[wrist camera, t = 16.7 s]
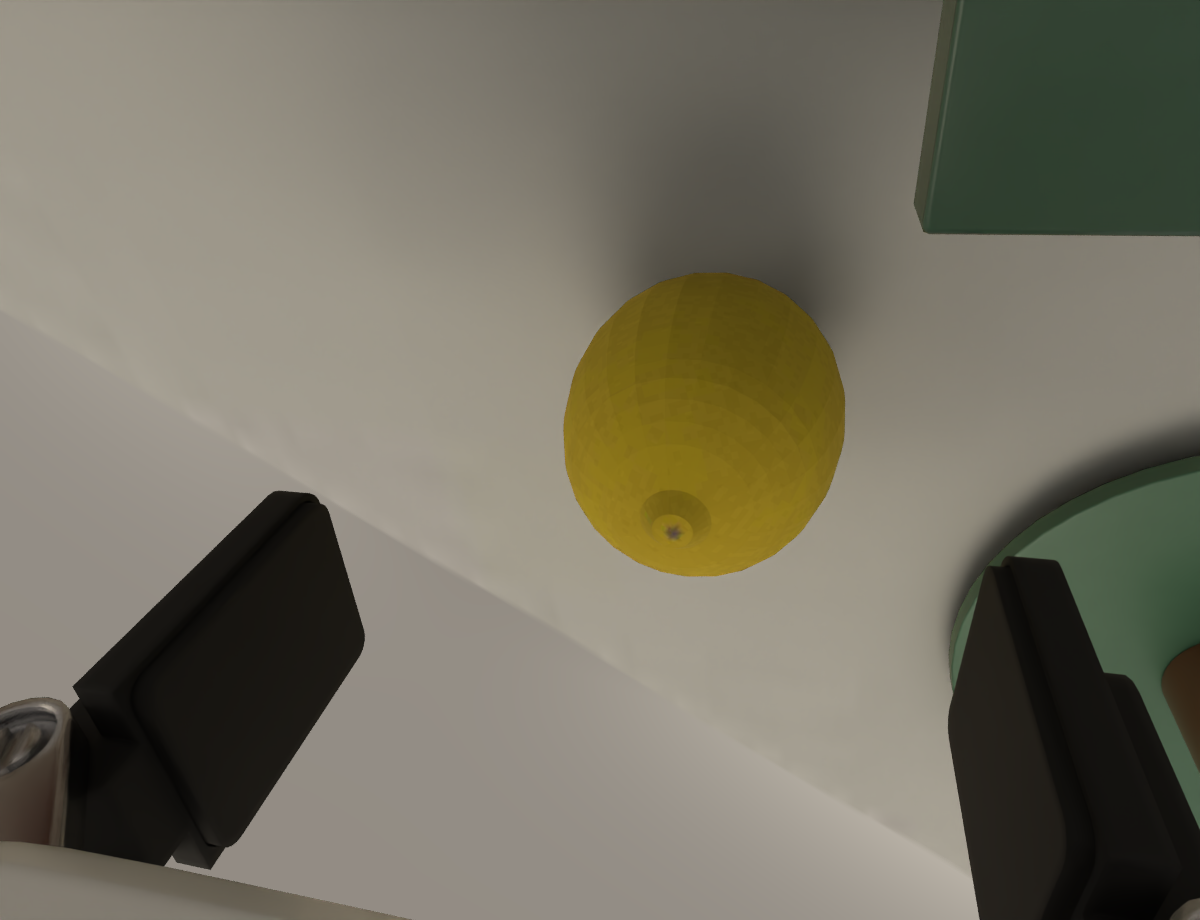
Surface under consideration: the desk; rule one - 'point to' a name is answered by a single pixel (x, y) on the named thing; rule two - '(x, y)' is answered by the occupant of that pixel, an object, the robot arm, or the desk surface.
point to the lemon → (704, 424)
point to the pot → (1063, 119)
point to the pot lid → (1131, 594)
